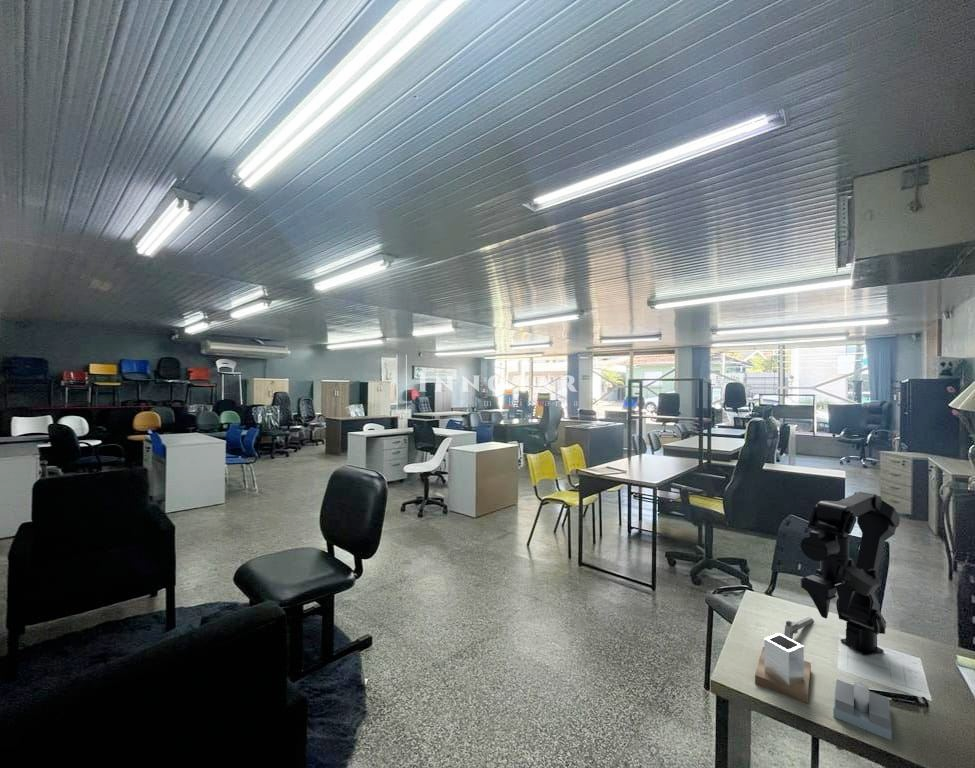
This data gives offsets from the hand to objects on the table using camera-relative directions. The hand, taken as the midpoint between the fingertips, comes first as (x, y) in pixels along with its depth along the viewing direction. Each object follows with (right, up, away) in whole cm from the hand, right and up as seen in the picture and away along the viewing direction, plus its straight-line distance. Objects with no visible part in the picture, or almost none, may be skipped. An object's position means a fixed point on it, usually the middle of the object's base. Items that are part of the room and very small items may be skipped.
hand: (834, 613), depth 106 cm
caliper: (+1, -14, +14) cm, 19 cm away
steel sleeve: (-18, -11, -7) cm, 22 cm away
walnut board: (-16, -13, -4) cm, 21 cm away
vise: (-7, -13, -16) cm, 22 cm away
